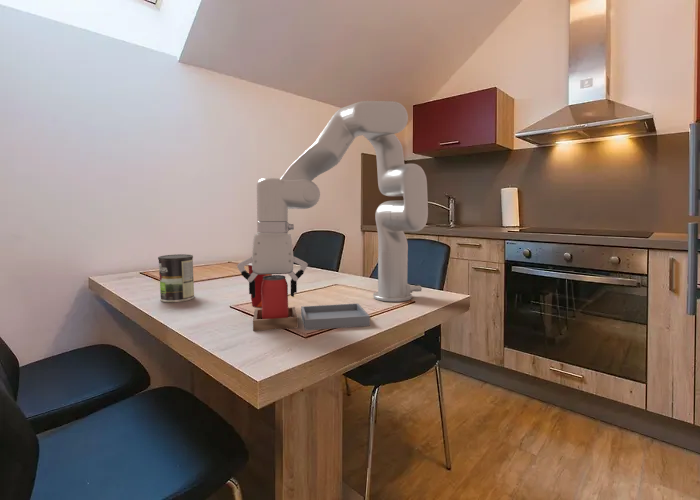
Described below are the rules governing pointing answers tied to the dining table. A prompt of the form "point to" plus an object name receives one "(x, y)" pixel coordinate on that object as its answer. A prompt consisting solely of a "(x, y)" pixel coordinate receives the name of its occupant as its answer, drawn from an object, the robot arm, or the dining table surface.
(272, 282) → the beer can
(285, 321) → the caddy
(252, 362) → the dining table surface
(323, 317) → the tray
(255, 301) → the paper cup
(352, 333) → the dining table surface
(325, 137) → the robot arm
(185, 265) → the coffee can
